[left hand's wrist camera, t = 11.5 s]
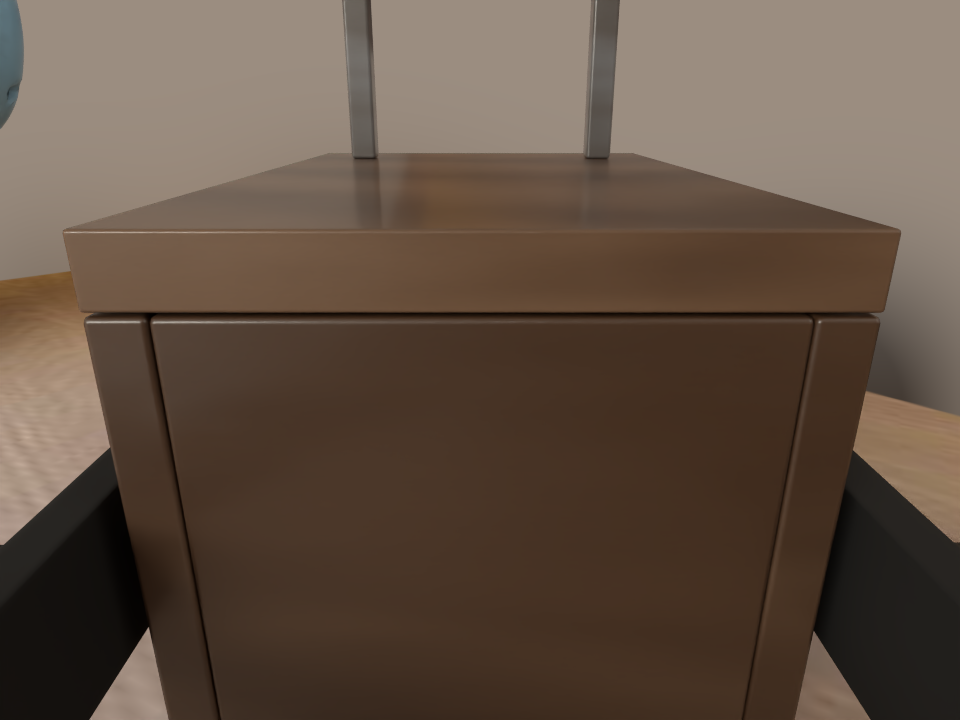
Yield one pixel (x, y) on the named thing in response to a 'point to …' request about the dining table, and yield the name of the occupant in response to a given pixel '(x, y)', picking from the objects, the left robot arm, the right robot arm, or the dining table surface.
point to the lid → (481, 230)
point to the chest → (481, 508)
